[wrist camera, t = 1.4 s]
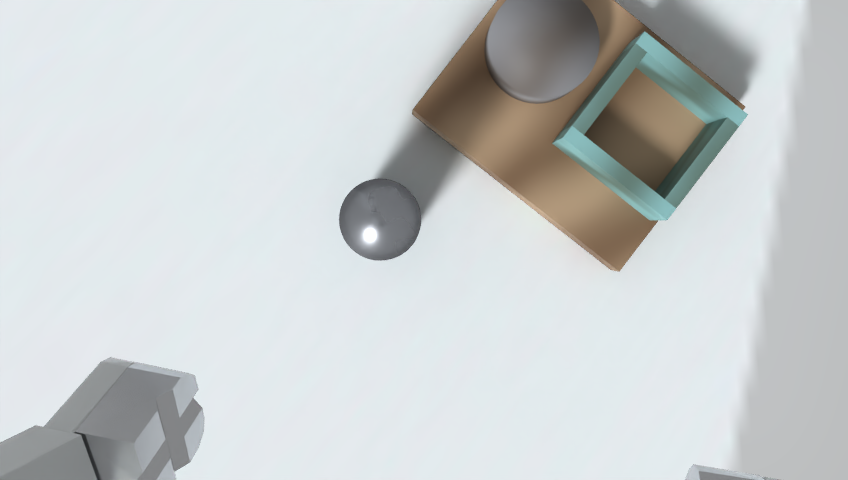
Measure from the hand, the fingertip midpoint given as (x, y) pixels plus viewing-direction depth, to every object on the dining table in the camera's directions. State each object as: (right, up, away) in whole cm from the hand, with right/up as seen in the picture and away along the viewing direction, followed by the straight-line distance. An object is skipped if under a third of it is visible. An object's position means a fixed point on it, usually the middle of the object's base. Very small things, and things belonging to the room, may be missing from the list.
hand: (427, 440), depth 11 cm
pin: (-2, +4, +29) cm, 30 cm away
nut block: (+9, +11, +29) cm, 33 cm away
